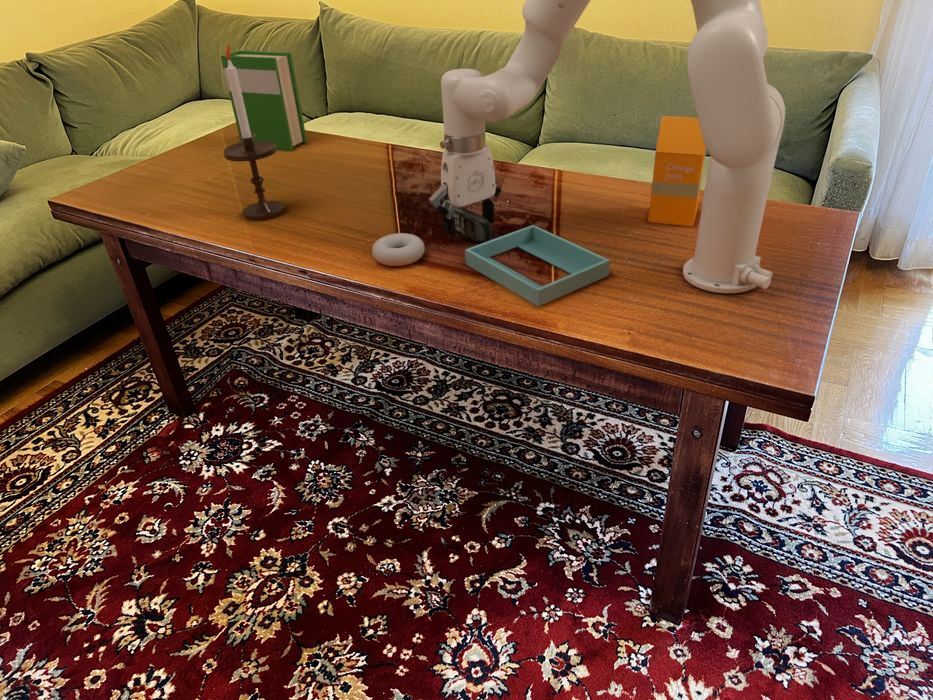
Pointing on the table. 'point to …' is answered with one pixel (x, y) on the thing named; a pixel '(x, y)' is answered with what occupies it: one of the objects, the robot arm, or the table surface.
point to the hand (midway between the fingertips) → (469, 227)
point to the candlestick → (250, 153)
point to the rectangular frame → (547, 248)
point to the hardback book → (268, 96)
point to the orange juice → (677, 171)
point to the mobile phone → (472, 225)
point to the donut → (398, 249)
